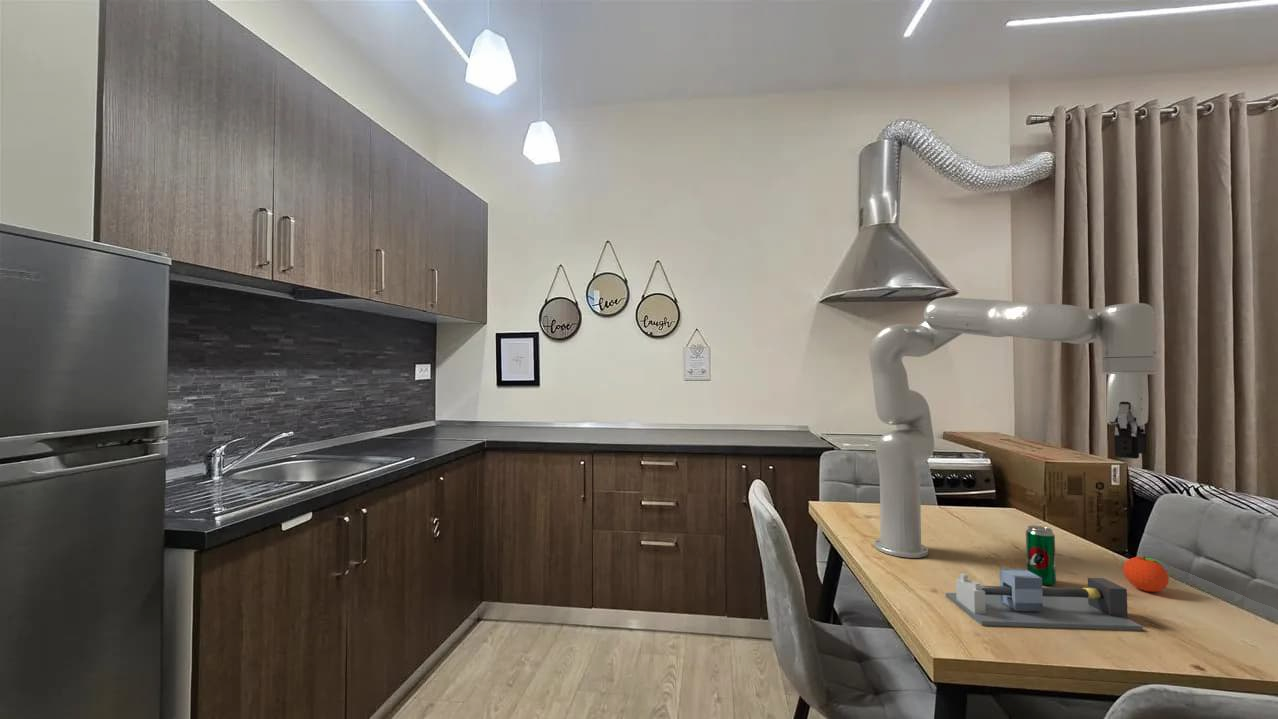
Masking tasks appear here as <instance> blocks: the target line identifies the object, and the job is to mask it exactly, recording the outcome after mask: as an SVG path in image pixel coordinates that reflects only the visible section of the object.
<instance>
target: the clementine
mask: <svg viewBox="0 0 1278 719" xmlns="http://www.w3.org/2000/svg"><path fill="white" fill-rule="evenodd" d="M1160 563H1161V564H1160ZM1162 564H1164V565H1165V563H1164V562H1162V561H1161V560H1158V559H1154V558H1148V557H1147V556H1146V557H1145V556H1143V557H1142V556H1135V557H1132V558H1129V559H1127V560H1126V561H1125V563H1124V564H1123V568H1122V570H1123V571H1122V572H1123V576H1124V578H1125V579H1126V580H1127V582H1129V583H1130V584H1131V585H1132V586H1133V587H1134V588H1137V589H1138V590H1142V591H1143V592H1149V593H1150V592H1153V593H1154V592H1156V593H1157V592H1161V591H1163V590H1164V589H1165V588H1166V587H1167V586H1168V585H1169V580H1170V578H1169V573H1168V572H1167V570H1166V568H1164V566H1163V565H1162ZM1166 566H1167V567H1168V568H1169V569H1170V570H1171V572H1172V574H1174V571H1173V569H1172V568H1171V567H1170V566H1169V565H1168V564H1166Z"/></svg>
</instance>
